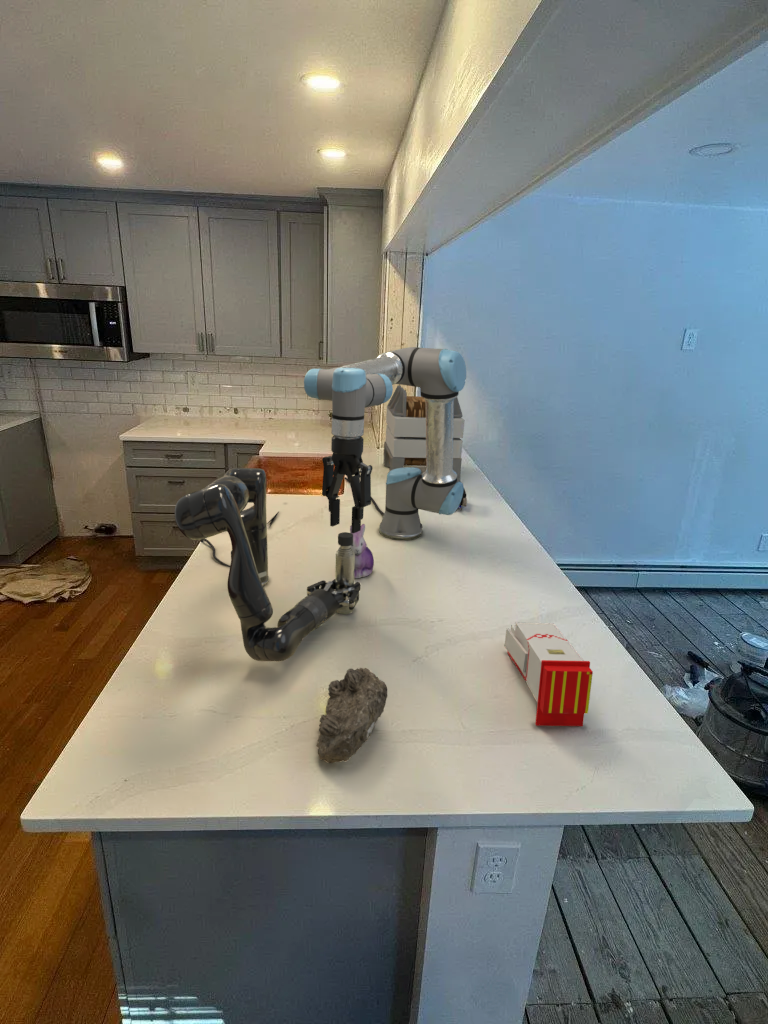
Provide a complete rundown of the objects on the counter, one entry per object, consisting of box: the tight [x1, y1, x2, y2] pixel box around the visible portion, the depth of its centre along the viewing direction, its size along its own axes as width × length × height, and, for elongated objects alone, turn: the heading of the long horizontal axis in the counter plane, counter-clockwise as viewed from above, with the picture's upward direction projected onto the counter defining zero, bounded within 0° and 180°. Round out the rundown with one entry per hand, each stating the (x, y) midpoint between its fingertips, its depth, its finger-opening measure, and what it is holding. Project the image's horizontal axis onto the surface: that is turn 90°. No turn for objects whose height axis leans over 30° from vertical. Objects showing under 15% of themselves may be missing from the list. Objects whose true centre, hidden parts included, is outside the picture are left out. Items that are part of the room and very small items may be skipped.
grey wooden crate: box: [383, 384, 465, 482], centre depth 268 cm, size 34×33×41 cm
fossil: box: [316, 667, 388, 764], centre depth 106 cm, size 22×10×15 cm
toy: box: [503, 622, 594, 727], centre depth 121 cm, size 12×13×30 cm
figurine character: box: [457, 488, 468, 511], centre depth 230 cm, size 7×8×15 cm
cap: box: [337, 531, 353, 546], centre depth 142 cm, size 4×4×2 cm
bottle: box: [334, 545, 355, 615], centre depth 145 cm, size 5×5×21 cm
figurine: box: [349, 523, 375, 579], centre depth 167 cm, size 9×10×15 cm
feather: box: [267, 512, 279, 529], centre depth 212 cm, size 2×28×2 cm
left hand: (349, 582), depth 148 cm, fingers closed on bottle, 5 cm apart
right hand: (345, 527), depth 140 cm, fingers open, 6 cm apart
